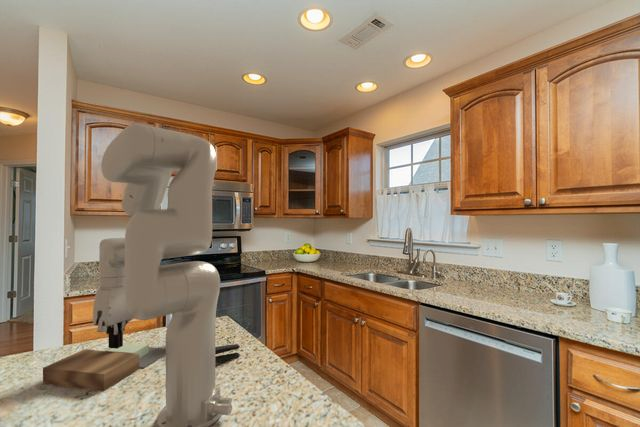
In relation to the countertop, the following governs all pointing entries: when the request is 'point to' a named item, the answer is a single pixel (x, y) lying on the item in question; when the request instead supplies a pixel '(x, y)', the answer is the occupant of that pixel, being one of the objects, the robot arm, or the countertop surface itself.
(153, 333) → the countertop surface
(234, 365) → the countertop surface
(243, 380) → the countertop surface
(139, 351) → the pale green flat block
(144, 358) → the mat
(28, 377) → the countertop surface
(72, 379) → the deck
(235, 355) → the can opener
